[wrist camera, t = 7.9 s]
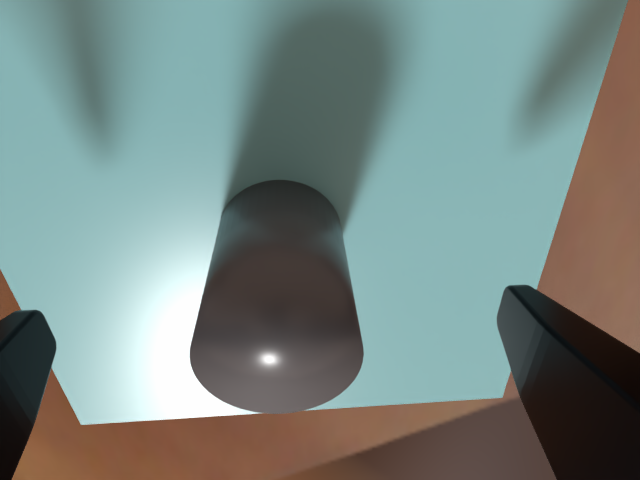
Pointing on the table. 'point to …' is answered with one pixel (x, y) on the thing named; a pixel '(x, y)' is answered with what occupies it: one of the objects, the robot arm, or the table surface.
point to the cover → (286, 192)
